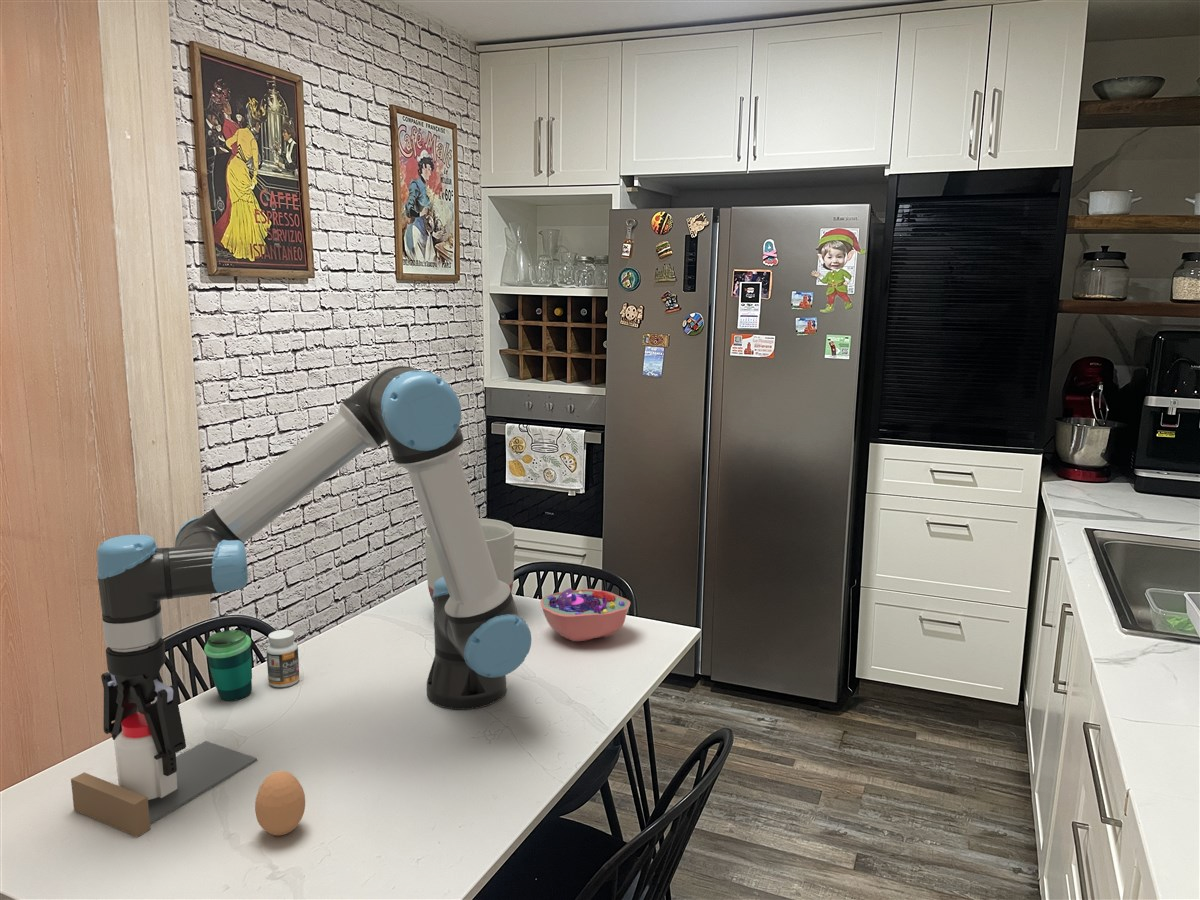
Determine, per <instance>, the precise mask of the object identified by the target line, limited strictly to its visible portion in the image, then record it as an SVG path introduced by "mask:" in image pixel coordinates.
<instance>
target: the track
mask: <svg viewBox="0 0 1200 900" xmlns="http://www.w3.org/2000/svg"><path fill="white" fill-rule="evenodd" d="M256 762H258V758H257V757H256V756H255V757H254V756H252V755H250V754H245V753H243V752H240V751H237V750H234V749H232V748H228V747H225V746H222V745H219V744H216V743H213V742H210V741H207V740H204V741H202V742H201V743H199V744H197V745H195V746H194V747H191V748H190V749H188V750H186V751H183V753H180V754H179V755H176V764H177V765H176V766H177V789H176V790H174V791H173V792H171V793H169V794H167V795H166V796H164V797H162V798H160V797H157V798H154V799H151V800H148V797H146V796H143V795H140V794H138V793H135V792H133V791H130V790H128V789H125V788H123V787H120V786H119V784H118V785H117V784H116V783H112V782H110V781H107V780H106V779H105V780H104V779H103V778H99V777H97V776H94V775H92V774H90V773H87V772H82V773H80V774H78V775H76V776H74V777H72V778H70V783H71V791H72V792H71V793H72V800H73V801H72V803H73V809H74V811H75V812H77V813H81V814H83V815H84V816H87V817H90V818H91V819H93V820H97V821H99V822H101V823H104V824H105V825H107V826H111V827H113V828H115V829H117V830H120V831H122V832H124V833H127V834H129V835H132V836H133V837H137V838H139V837H140V836H142V835H144V834H146V832H149V831H150V830H151V825H153V824H155V823H156V822H157V821H159V820H160V819H162V818H164V817H166V816H167V815H168V814H169V815H170V813H172V812H174V811H176V810H177V809H179V808H181V807H182V806H185V804H187V803H189V802H191V801H192V800H194V799H195V798H198V797H199V796H200V795H203V794H204V793H205V792H207V791H209V790H210V789H212V788H214V787H215V786H217V785H219V784H221V783H222V782H224V781H226V780H227V779H229V778H230V777H233V776H234V775H235V774H237V773H239V772H241V771H243V770H244V769H246V768H248V767H249V766H251V765H252V764H254V763H256Z"/></svg>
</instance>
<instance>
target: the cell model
mask: <svg viewBox="0 0 1200 900" xmlns="http://www.w3.org/2000/svg"><path fill="white" fill-rule="evenodd" d="M630 605H631V601H630V600H629V599H627V598H625V597H622V596H619V595H617V594H615V593H614V592H611V591H606V590H599V589H594V588H583V589H575V590H573V588H572V587H569V588H567V589H564V590H563V591H560V592H555V593H551V594H548V595H545V596H543V597H542V598H541V599H540V607H541V609H542V610H541V611H542V613H543V615H544V617H545V619H546V622H547V624H548V625H549V627H551V628H552V630H553V631H554V632H555V634H558V635H559V636H562V637H563V638H565V639H567V640H568V641H572V642H586V641H591V640H594V639H597V638H602V639H603V638H604V639H605V638H608V637H610V636H612V635H613V634H615V633H617V632H619V630H620V629H621V628H623V625H624V624H625V621H626V617H627V615H628V611H629V609H630Z"/></svg>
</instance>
